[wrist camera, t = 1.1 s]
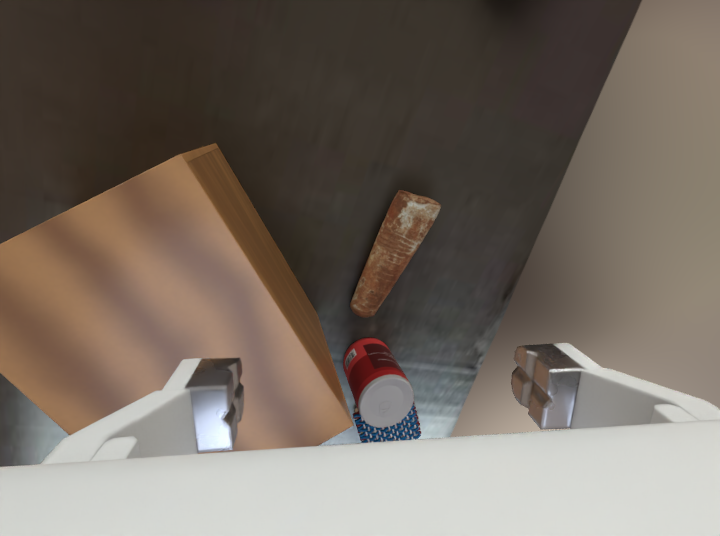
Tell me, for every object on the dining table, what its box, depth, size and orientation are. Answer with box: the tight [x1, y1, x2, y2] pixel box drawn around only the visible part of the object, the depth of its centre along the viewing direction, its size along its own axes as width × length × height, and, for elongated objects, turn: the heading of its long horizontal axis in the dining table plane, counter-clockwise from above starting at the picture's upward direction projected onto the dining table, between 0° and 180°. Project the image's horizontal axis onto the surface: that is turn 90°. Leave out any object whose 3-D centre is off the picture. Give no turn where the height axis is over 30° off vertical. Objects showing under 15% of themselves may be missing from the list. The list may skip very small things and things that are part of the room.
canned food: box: [343, 337, 414, 428], centre depth 56 cm, size 8×8×11 cm
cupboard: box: [0, 143, 353, 454], centre depth 40 cm, size 18×26×23 cm
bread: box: [350, 190, 441, 317], centre depth 53 cm, size 6×19×6 cm, turn 152°
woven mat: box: [353, 402, 421, 443], centre depth 65 cm, size 10×11×2 cm
